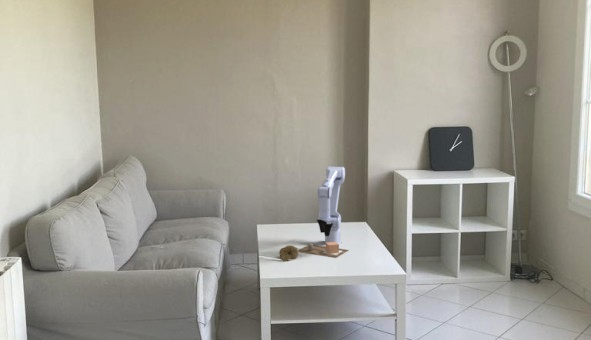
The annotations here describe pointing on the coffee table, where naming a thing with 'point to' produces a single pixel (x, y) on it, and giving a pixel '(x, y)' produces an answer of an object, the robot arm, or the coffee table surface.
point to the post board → (319, 250)
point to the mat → (332, 253)
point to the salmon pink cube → (332, 247)
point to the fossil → (288, 253)
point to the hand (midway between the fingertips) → (324, 234)
